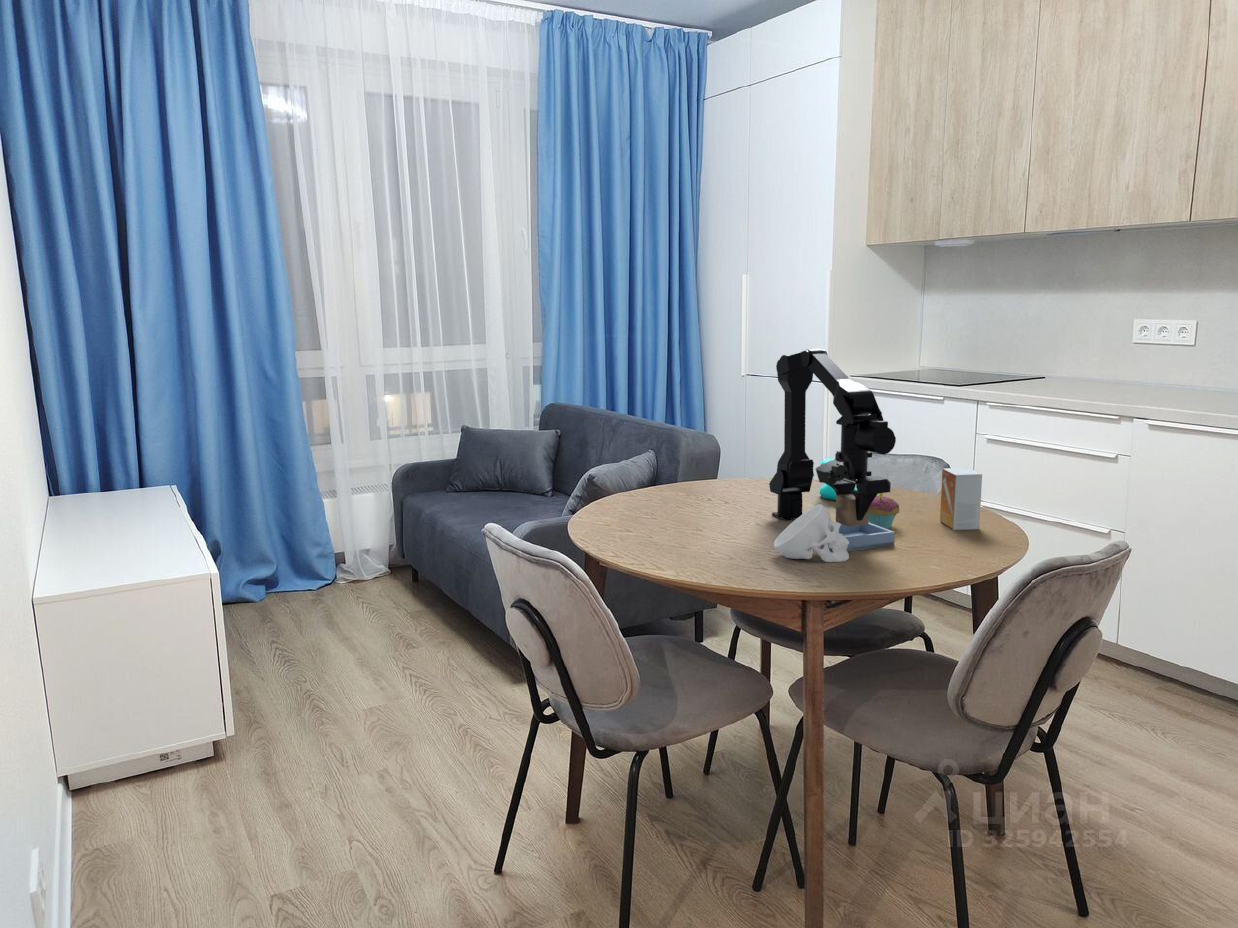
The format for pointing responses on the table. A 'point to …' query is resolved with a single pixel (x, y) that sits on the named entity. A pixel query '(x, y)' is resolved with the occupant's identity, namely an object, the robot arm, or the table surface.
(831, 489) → the donuts
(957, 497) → the small box
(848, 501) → the block
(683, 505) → the table surface
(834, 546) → the skull bowl
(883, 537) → the tray
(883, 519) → the cupcake
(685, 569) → the table surface
